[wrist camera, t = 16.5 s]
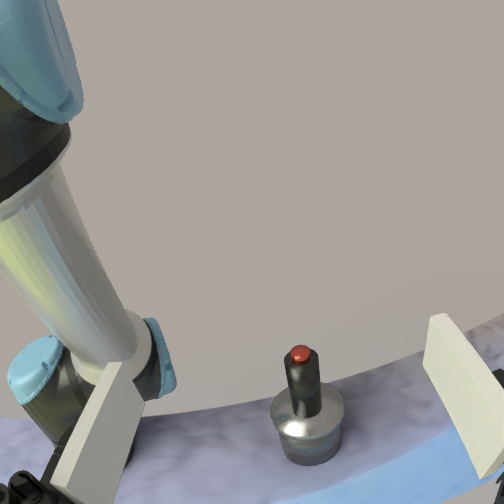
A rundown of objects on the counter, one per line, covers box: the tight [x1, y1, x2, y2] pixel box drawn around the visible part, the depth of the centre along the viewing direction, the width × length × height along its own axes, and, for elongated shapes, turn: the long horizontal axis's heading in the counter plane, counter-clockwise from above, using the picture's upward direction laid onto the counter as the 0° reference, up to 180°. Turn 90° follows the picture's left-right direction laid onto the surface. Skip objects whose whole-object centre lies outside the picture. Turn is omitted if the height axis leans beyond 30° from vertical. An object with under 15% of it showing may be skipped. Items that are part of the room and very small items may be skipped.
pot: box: [279, 425, 340, 466], centre depth 41 cm, size 9×9×8 cm
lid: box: [270, 345, 344, 441], centre depth 37 cm, size 10×10×12 cm
